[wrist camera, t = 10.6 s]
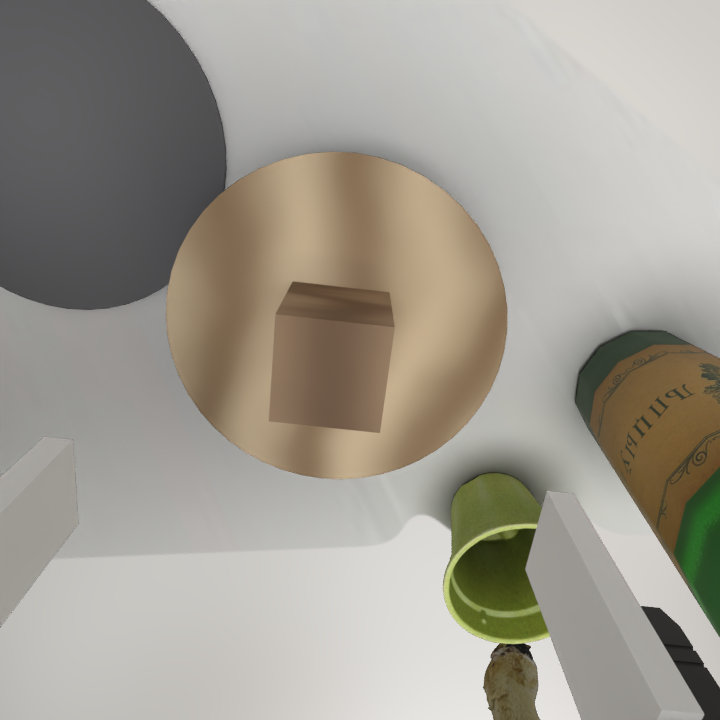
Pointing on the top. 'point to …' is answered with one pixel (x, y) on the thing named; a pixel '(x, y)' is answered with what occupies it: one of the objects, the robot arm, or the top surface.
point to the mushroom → (512, 683)
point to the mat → (100, 150)
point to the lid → (336, 315)
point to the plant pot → (493, 561)
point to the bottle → (664, 445)
